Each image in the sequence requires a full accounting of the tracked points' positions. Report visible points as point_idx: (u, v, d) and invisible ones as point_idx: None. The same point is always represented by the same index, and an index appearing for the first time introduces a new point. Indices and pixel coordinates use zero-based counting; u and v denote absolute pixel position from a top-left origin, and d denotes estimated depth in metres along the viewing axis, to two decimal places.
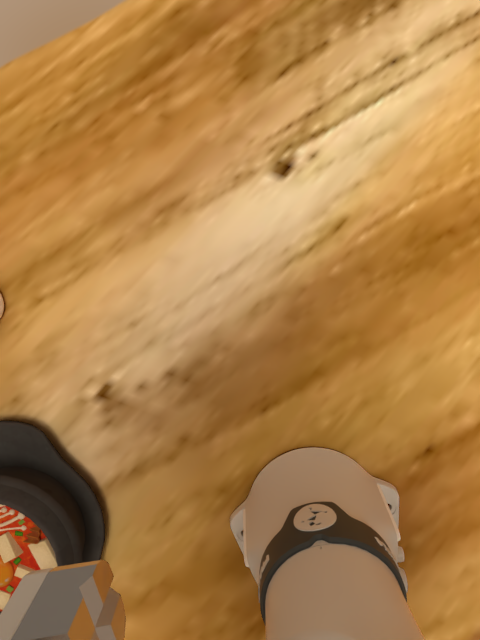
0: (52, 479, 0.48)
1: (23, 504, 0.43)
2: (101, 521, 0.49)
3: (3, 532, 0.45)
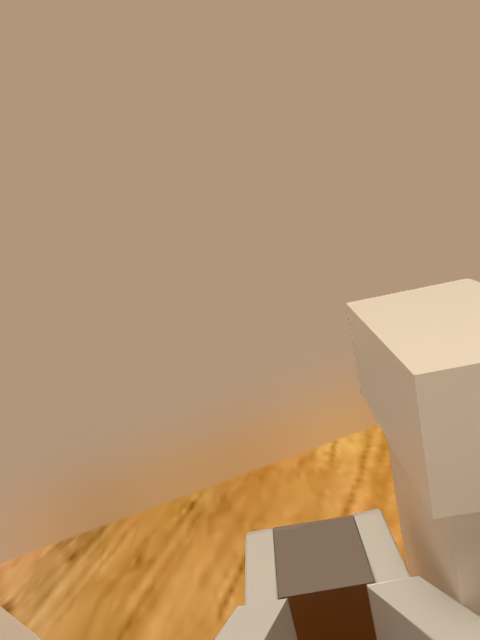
0: None
1: None
2: None
3: None
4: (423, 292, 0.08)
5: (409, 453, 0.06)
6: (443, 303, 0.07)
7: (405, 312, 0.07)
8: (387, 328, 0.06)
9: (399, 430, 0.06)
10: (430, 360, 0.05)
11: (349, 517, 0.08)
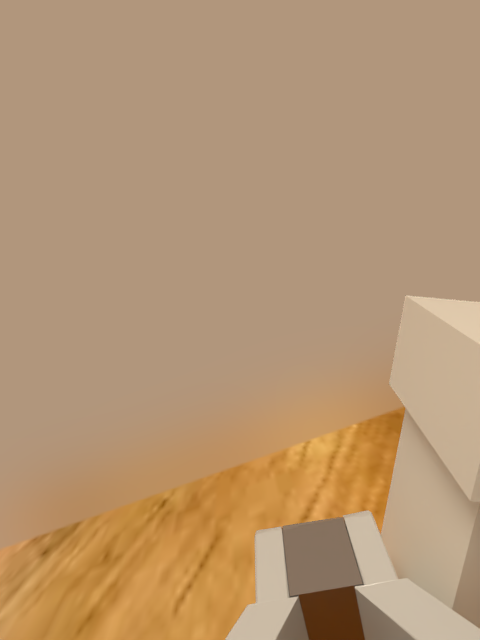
0: None
1: None
2: None
3: None
4: None
5: (456, 439, 0.06)
6: None
7: (471, 315, 0.07)
8: (459, 323, 0.07)
9: (448, 417, 0.06)
10: None
11: (340, 519, 0.08)
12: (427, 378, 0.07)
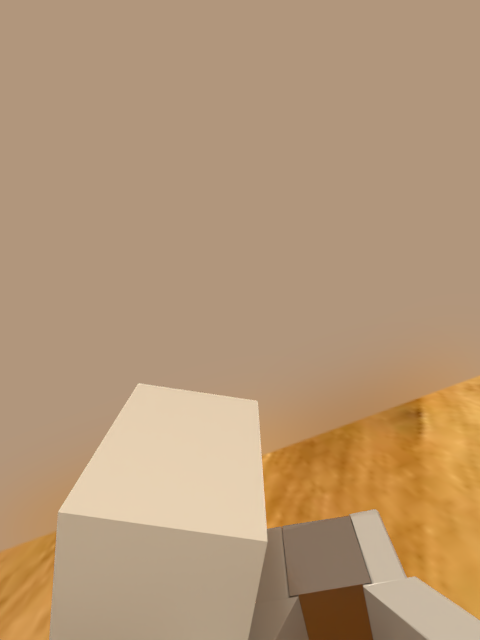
0: None
1: None
2: None
3: None
4: (206, 401, 0.08)
5: None
6: (199, 424, 0.07)
7: (161, 421, 0.07)
8: (120, 436, 0.06)
9: None
10: (95, 499, 0.05)
11: (347, 518, 0.08)
12: None
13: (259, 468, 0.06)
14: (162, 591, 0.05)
